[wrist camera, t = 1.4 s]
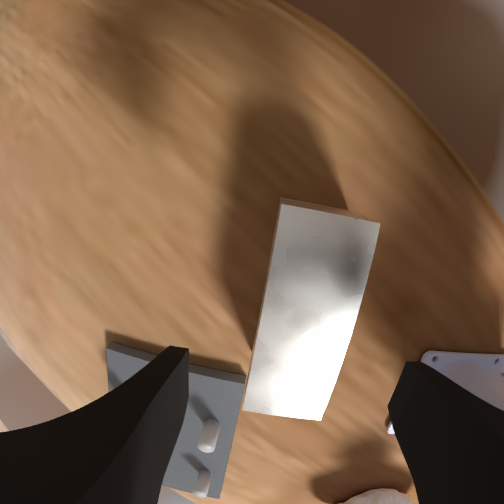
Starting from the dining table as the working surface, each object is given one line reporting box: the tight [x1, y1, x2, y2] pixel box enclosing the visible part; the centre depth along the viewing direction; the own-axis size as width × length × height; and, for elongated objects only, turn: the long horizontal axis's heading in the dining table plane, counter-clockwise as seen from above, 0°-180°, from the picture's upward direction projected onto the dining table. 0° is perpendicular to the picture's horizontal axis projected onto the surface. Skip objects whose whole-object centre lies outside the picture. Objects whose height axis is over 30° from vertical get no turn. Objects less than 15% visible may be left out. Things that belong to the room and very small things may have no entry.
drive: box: [242, 197, 380, 420], centre depth 16 cm, size 4×10×6 cm, turn 171°
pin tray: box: [106, 342, 246, 499], centre depth 20 cm, size 10×16×4 cm, turn 170°
